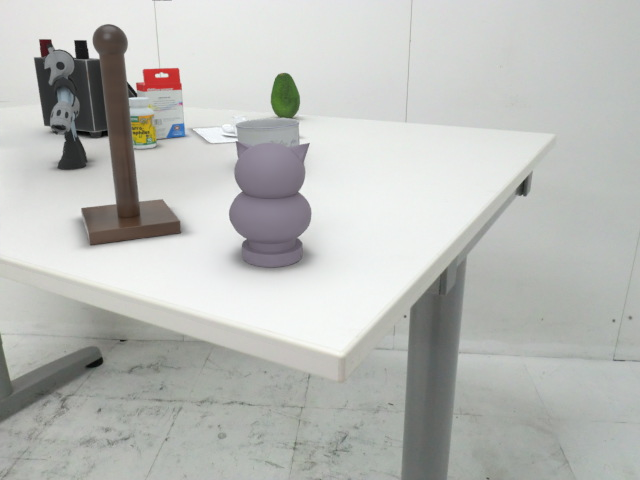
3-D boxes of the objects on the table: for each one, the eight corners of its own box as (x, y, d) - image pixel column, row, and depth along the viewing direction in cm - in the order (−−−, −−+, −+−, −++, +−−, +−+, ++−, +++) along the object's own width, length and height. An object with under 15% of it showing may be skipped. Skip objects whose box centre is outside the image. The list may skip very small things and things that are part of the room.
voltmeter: (150, 128, 136) (142, 39, 129) (95, 138, 122) (83, 40, 115) (101, 123, 143) (91, 38, 136) (45, 132, 129) (30, 39, 122)
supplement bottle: (158, 144, 118) (154, 96, 114) (155, 149, 113) (150, 99, 109) (131, 144, 117) (126, 96, 114) (127, 149, 112) (121, 99, 109)
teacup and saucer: (217, 132, 131) (216, 114, 130) (250, 130, 134) (249, 113, 133) (226, 139, 124) (225, 120, 122) (261, 137, 127) (261, 118, 125)
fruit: (270, 116, 157) (269, 71, 153) (298, 116, 158) (298, 71, 154) (271, 120, 150) (270, 73, 146) (301, 120, 151) (301, 73, 147)
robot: (84, 176, 91) (67, 44, 84) (51, 178, 90) (31, 44, 83) (91, 152, 109) (77, 42, 102) (64, 153, 107) (48, 41, 100)
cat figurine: (220, 266, 57) (213, 148, 53) (243, 240, 64) (240, 134, 60) (303, 273, 56) (303, 152, 52) (317, 245, 63) (319, 137, 59)
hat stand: (82, 219, 71) (55, 23, 63) (163, 209, 75) (147, 25, 67) (90, 245, 62) (59, 23, 54) (181, 232, 66) (165, 24, 59)
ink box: (176, 133, 130) (172, 66, 125) (185, 136, 126) (181, 67, 121) (140, 136, 125) (133, 67, 120) (148, 140, 122) (142, 68, 116)
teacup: (277, 177, 92) (277, 127, 89) (224, 169, 97) (222, 122, 94) (319, 161, 104) (320, 117, 101) (269, 155, 109) (269, 112, 106)
